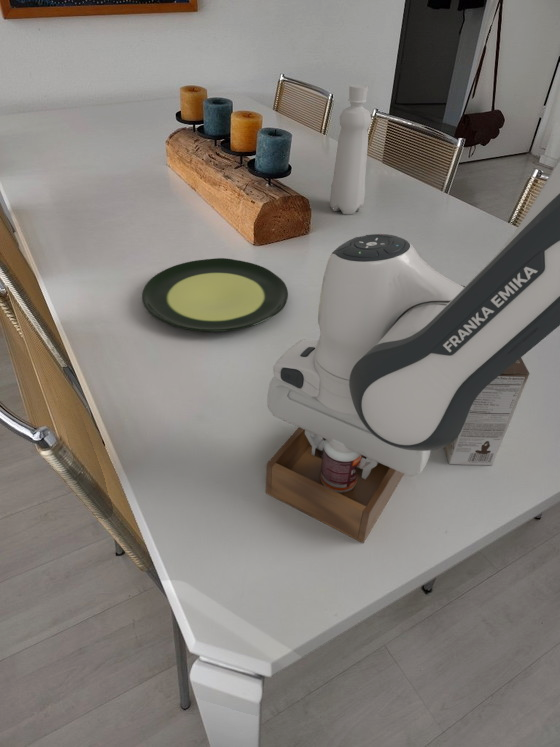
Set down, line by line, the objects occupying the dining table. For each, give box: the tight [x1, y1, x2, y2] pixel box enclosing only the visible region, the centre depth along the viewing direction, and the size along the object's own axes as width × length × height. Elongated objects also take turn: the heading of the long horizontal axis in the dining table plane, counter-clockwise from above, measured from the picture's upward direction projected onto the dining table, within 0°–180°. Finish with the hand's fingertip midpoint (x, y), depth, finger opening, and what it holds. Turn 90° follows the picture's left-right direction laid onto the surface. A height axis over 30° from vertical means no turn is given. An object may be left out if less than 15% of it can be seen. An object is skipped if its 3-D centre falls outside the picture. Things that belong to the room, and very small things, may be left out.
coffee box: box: [443, 357, 531, 466], centre depth 72 cm, size 9×6×16 cm
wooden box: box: [265, 427, 405, 544], centre depth 69 cm, size 14×14×5 cm
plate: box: [141, 257, 289, 332], centre depth 105 cm, size 28×28×2 cm
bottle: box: [329, 83, 373, 215], centre depth 138 cm, size 9×9×30 cm
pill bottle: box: [320, 439, 361, 493], centre depth 68 cm, size 5×5×8 cm
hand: (340, 463), depth 69 cm, fingers closed on pill bottle, 5 cm apart
